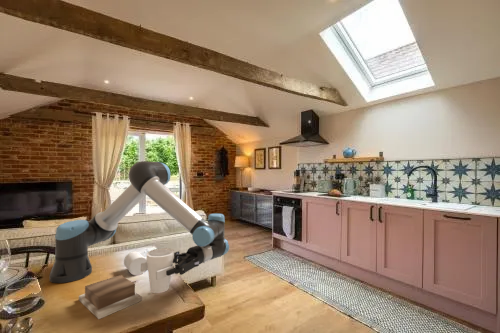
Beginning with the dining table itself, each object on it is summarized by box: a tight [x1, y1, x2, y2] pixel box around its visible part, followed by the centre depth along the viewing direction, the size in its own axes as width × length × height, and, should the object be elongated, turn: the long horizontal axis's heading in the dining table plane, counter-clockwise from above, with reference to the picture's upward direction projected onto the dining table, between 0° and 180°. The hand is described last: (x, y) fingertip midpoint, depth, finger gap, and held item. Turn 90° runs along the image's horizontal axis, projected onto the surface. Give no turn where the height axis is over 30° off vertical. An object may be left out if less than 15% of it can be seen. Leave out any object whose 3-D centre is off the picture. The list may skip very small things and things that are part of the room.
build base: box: [78, 274, 143, 320], centre depth 87 cm, size 18×14×6 cm
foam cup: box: [146, 247, 175, 294], centre depth 87 cm, size 10×9×13 cm
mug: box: [123, 251, 147, 276], centre depth 113 cm, size 12×10×8 cm
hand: (148, 271), depth 84 cm, fingers closed on foam cup, 9 cm apart
